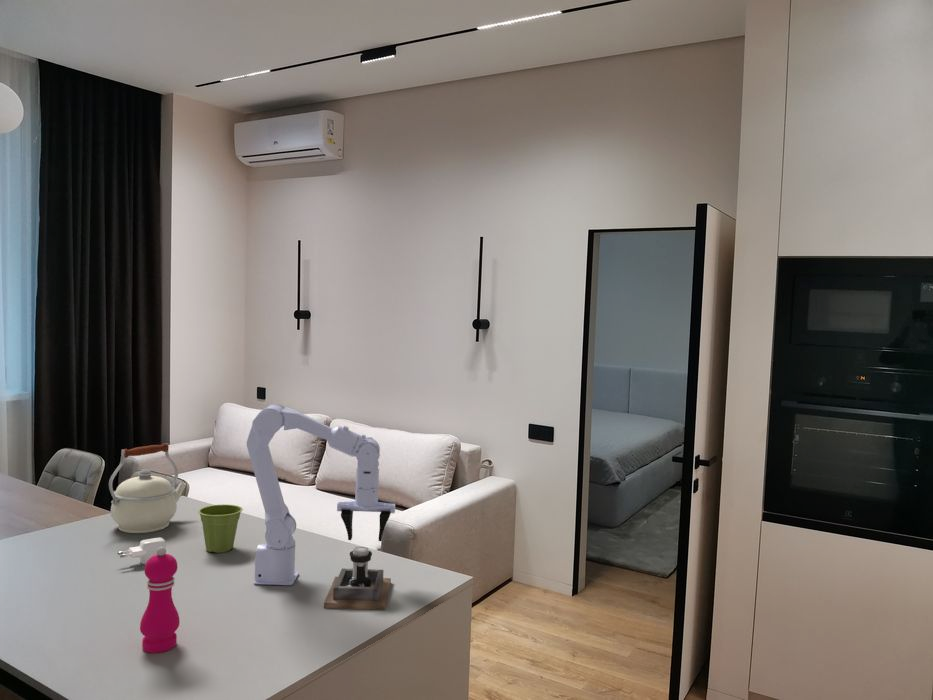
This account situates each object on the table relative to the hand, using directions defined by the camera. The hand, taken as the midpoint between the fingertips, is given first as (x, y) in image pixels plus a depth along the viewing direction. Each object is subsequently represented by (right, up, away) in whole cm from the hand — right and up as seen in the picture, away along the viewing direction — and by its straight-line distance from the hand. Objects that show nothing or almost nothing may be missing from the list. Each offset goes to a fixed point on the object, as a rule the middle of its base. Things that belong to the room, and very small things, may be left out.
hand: (365, 539), depth 175 cm
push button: (-1, -10, -10) cm, 14 cm away
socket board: (0, -11, -9) cm, 14 cm away
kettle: (-72, -6, +37) cm, 81 cm away
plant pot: (-44, -8, +19) cm, 48 cm away
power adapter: (-60, -8, +5) cm, 60 cm away
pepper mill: (-36, -11, -38) cm, 53 cm away
